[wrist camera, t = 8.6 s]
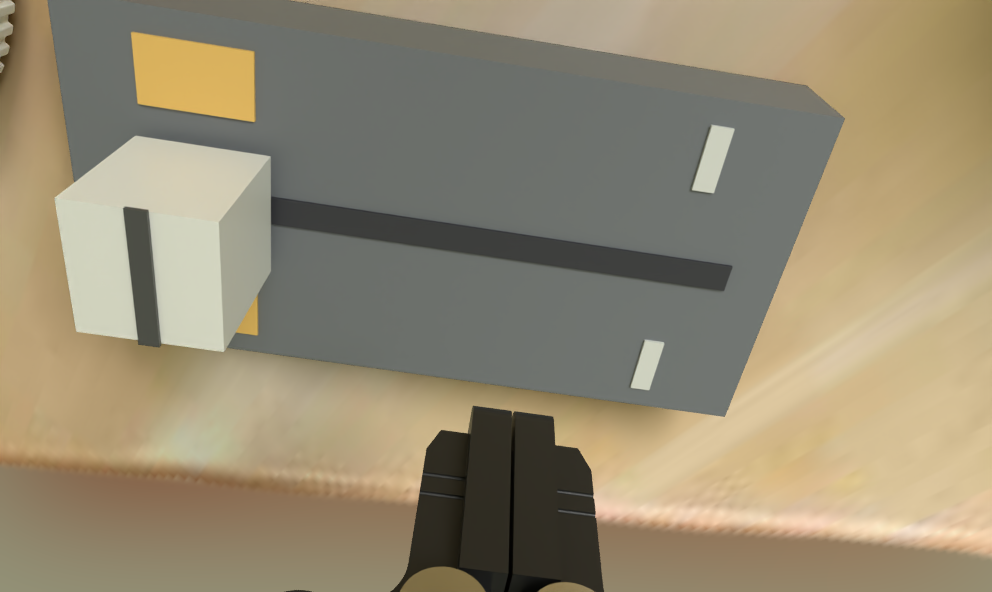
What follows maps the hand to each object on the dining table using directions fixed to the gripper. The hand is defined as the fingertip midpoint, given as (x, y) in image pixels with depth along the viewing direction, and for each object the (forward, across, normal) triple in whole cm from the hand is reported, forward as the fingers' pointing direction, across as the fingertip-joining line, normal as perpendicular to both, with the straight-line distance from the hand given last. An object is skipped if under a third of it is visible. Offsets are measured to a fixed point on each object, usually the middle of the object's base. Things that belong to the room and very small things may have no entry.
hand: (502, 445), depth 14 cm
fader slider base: (+12, +2, 0) cm, 12 cm away
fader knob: (+8, +8, 0) cm, 12 cm away
